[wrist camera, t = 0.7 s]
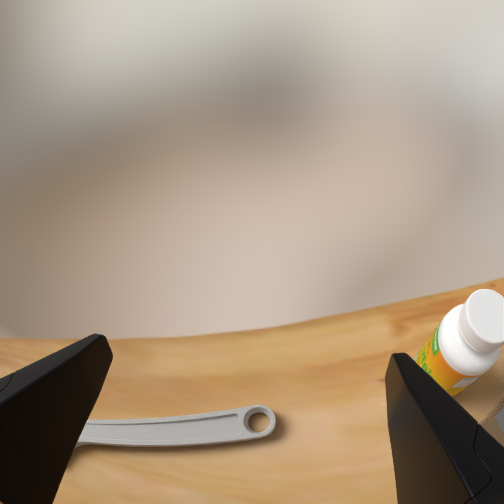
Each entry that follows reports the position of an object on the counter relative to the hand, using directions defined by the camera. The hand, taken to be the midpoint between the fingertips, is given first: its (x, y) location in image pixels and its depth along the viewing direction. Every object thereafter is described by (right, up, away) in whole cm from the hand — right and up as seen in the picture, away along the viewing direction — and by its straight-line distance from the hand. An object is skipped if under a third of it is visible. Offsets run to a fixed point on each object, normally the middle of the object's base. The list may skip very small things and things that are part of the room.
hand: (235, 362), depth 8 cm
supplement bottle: (+16, -7, +12) cm, 22 cm away
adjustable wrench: (-10, -13, +12) cm, 20 cm away
